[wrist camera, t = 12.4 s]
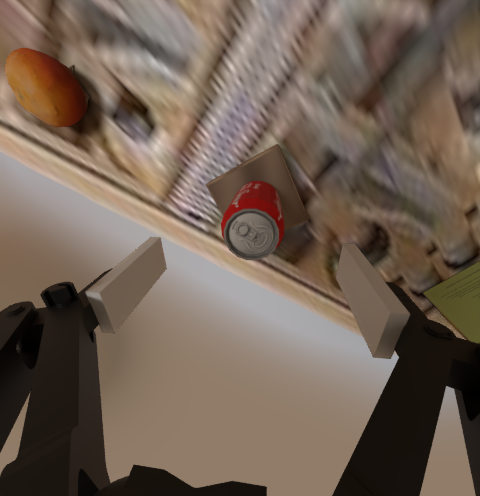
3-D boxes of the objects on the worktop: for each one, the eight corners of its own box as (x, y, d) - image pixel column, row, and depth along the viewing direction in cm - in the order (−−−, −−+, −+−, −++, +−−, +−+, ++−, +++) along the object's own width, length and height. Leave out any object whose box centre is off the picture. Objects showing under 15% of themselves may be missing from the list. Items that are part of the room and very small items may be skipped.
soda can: (289, 195, 30) (300, 226, 19) (264, 231, 32) (261, 276, 22) (249, 170, 29) (238, 188, 18) (227, 209, 32) (206, 245, 21)
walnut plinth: (277, 143, 31) (278, 144, 27) (305, 212, 34) (309, 220, 31) (211, 180, 34) (204, 185, 30) (244, 239, 38) (241, 249, 34)
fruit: (109, 94, 29) (45, 107, 25) (98, 127, 35) (45, 143, 30) (61, 28, 27) (-20, 28, 22) (59, 75, 33) (-6, 83, 28)
